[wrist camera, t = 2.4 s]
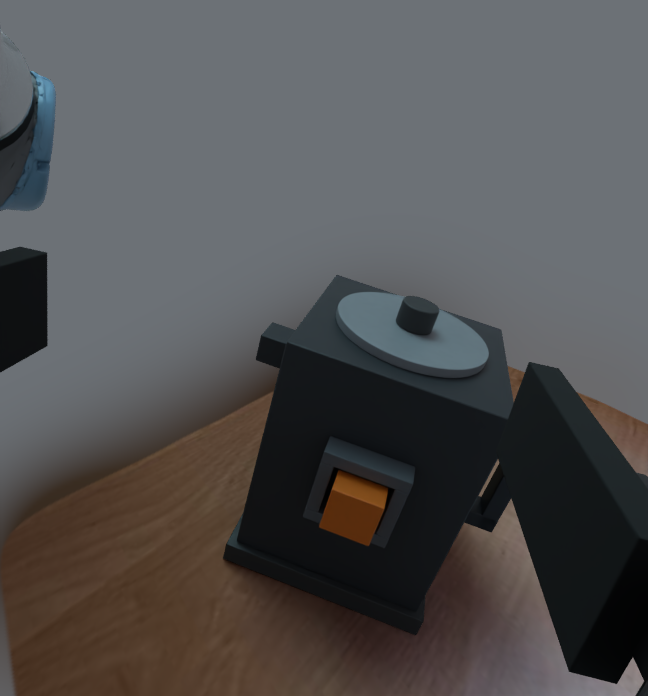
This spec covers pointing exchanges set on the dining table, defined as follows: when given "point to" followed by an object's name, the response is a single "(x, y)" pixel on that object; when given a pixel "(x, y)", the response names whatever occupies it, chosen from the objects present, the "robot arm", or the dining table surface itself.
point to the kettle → (375, 446)
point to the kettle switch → (354, 507)
